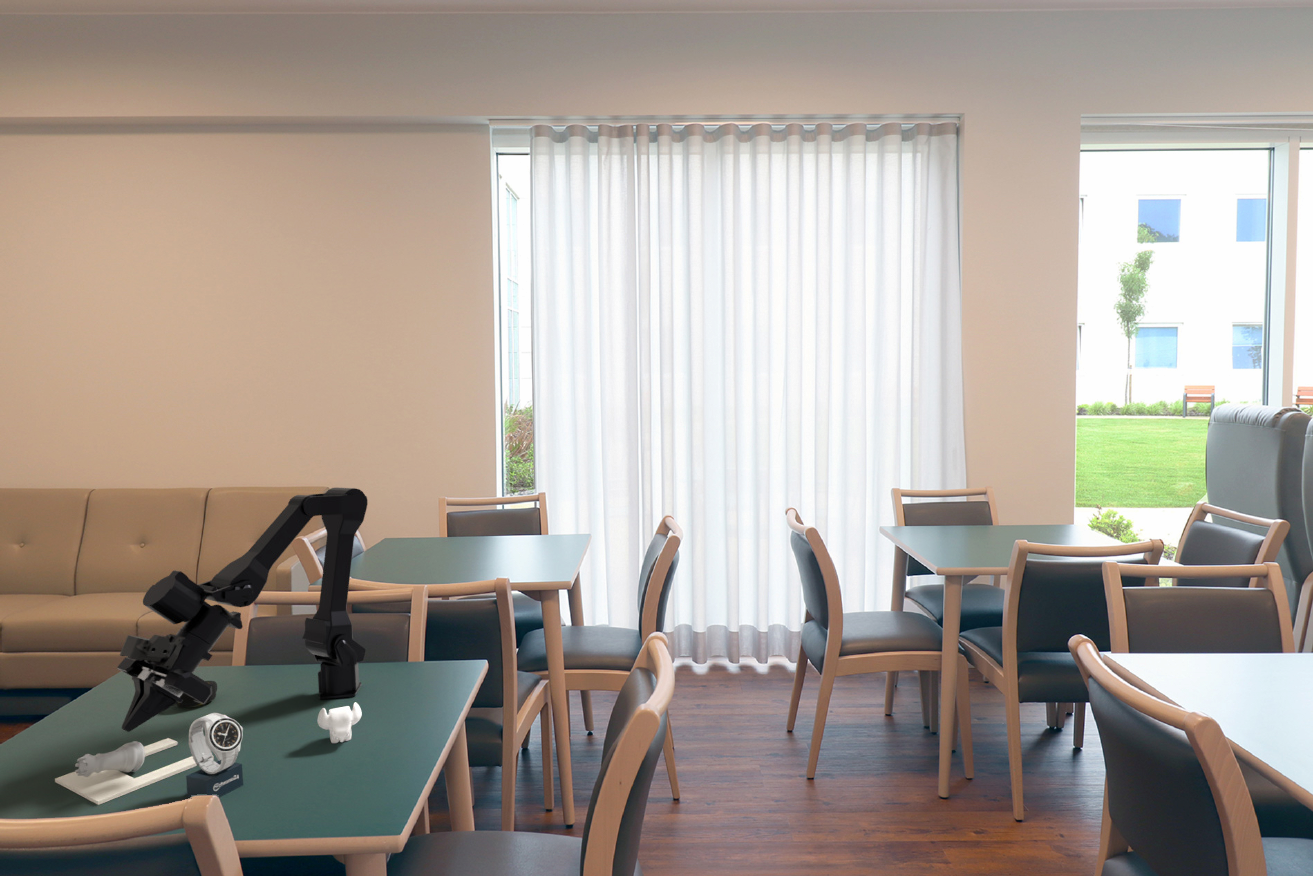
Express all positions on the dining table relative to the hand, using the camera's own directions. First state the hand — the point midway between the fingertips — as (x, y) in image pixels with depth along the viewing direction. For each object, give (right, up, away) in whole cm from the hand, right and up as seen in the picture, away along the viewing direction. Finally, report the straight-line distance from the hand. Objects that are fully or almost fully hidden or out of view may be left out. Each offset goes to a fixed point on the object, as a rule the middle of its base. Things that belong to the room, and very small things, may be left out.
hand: (124, 730), depth 119 cm
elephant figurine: (+29, -6, +10) cm, 31 cm away
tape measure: (-7, -6, +29) cm, 30 cm away
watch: (+18, -7, -6) cm, 20 cm away
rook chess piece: (+1, -4, +2) cm, 5 cm away
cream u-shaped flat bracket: (+1, -7, +1) cm, 7 cm away
